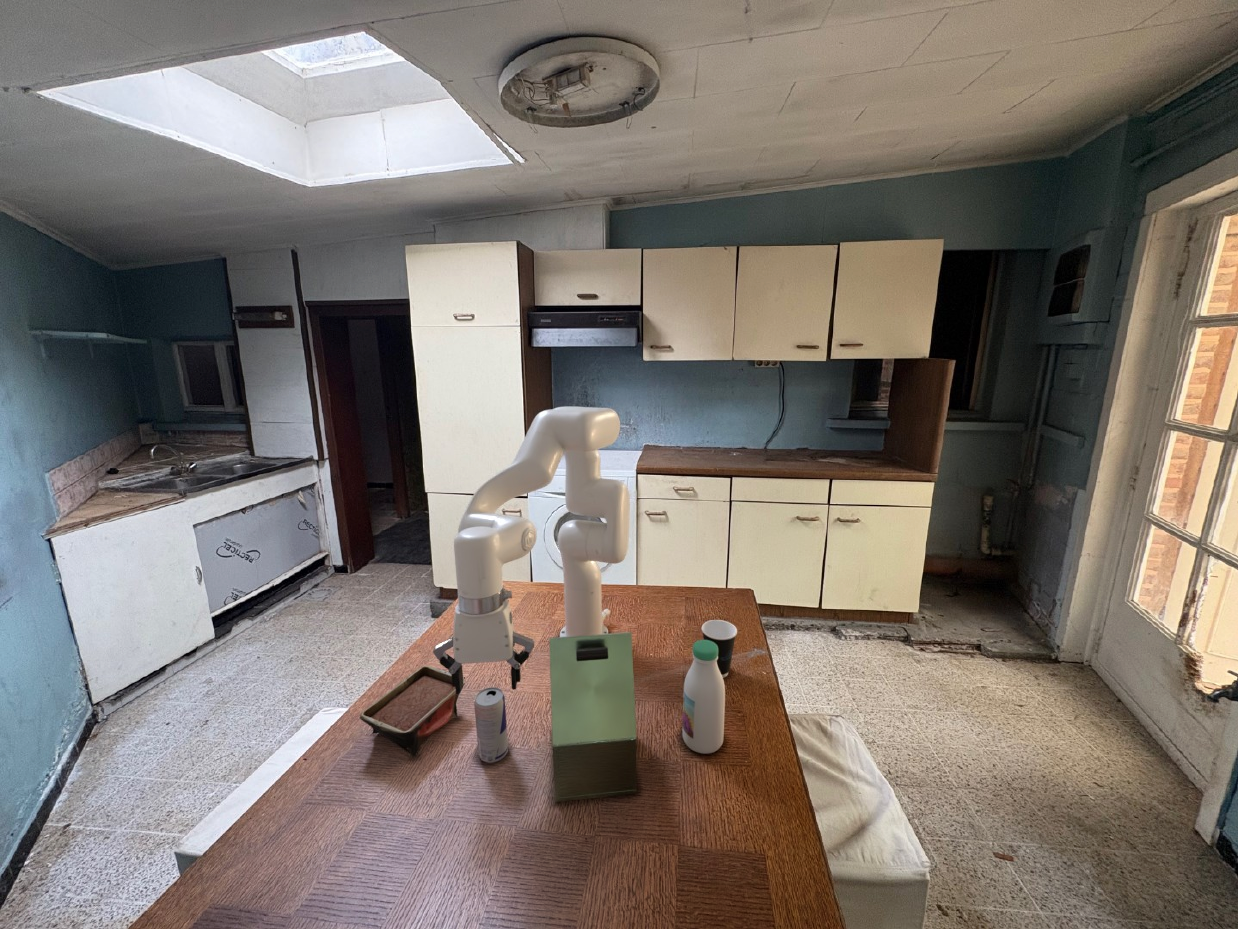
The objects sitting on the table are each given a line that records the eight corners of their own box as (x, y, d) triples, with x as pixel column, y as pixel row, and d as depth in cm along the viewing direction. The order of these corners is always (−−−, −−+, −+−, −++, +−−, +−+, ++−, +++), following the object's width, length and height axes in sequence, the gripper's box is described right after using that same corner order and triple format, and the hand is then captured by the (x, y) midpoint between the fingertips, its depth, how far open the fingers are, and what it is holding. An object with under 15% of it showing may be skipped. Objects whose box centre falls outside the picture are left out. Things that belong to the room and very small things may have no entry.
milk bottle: (725, 729, 98) (729, 638, 93) (720, 759, 91) (724, 662, 86) (686, 720, 100) (688, 631, 96) (678, 749, 93) (680, 653, 89)
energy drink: (512, 742, 95) (508, 687, 93) (503, 765, 90) (498, 707, 87) (484, 740, 96) (480, 685, 93) (474, 763, 91) (469, 705, 88)
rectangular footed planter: (474, 722, 103) (473, 675, 103) (400, 773, 88) (399, 718, 87) (425, 705, 110) (424, 660, 110) (348, 750, 94) (347, 698, 94)
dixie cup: (703, 658, 120) (704, 617, 118) (737, 665, 118) (739, 622, 115) (697, 678, 113) (698, 635, 111) (732, 686, 111) (734, 641, 108)
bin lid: (549, 637, 83) (548, 644, 78) (630, 632, 84) (634, 637, 79) (552, 743, 80) (551, 756, 75) (636, 735, 82) (640, 748, 77)
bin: (556, 732, 98) (554, 684, 95) (625, 726, 99) (624, 678, 97) (555, 802, 83) (552, 747, 80) (636, 793, 84) (636, 739, 82)
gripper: (533, 586, 90) (537, 670, 94) (434, 591, 89) (442, 677, 92) (530, 606, 83) (535, 697, 87) (423, 612, 81) (432, 705, 85)
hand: (487, 686), depth 89 cm, fingers open, 9 cm apart
